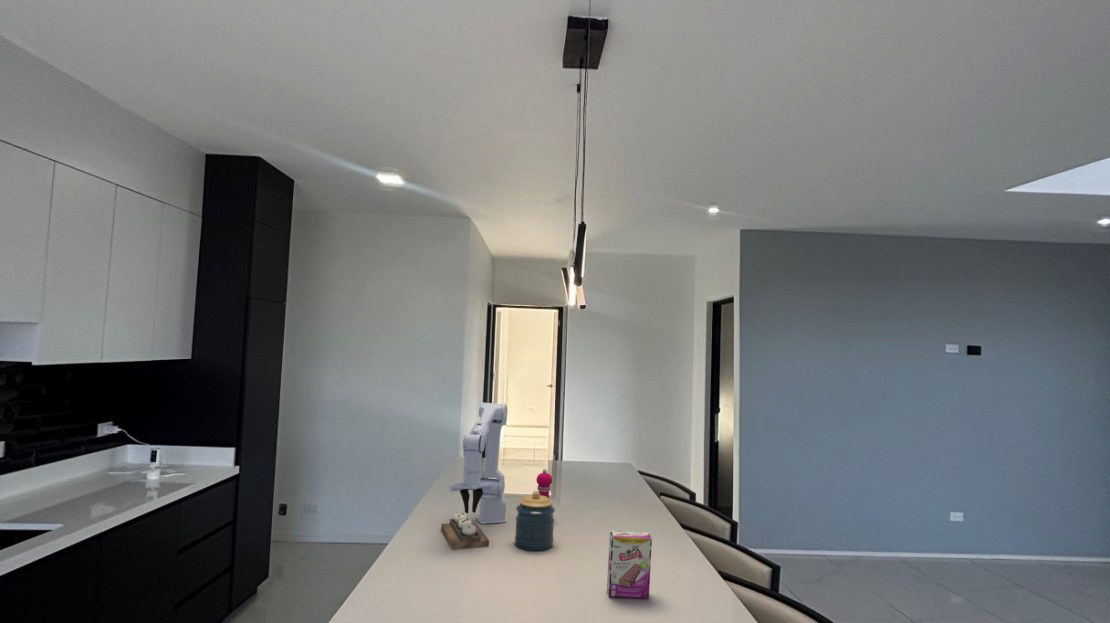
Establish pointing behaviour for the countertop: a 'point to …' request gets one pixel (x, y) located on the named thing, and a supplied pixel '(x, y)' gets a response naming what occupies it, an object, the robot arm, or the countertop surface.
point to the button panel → (463, 536)
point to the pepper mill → (544, 483)
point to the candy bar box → (629, 564)
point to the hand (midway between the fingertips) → (470, 512)
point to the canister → (534, 523)
